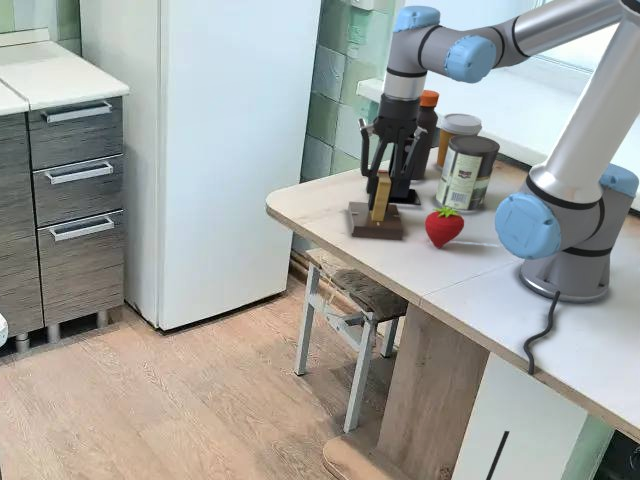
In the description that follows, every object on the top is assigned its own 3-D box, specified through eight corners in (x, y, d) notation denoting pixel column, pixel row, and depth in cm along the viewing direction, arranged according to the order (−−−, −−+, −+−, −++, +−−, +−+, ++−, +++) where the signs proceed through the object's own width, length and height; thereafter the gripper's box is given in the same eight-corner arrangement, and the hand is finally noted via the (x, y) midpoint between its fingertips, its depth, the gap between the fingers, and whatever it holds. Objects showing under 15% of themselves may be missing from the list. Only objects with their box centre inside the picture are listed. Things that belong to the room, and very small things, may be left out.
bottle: (405, 170, 194) (424, 86, 182) (428, 179, 190) (450, 94, 178) (387, 176, 191) (406, 92, 178) (411, 186, 186) (431, 100, 174)
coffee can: (473, 194, 183) (490, 134, 175) (488, 214, 175) (507, 152, 166) (428, 193, 183) (443, 133, 175) (441, 213, 175) (457, 151, 166)
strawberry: (460, 255, 160) (473, 209, 154) (421, 253, 160) (433, 207, 154) (454, 242, 164) (466, 196, 158) (416, 239, 165) (428, 194, 159)
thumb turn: (382, 221, 166) (391, 181, 160) (372, 220, 166) (380, 180, 161) (379, 209, 170) (388, 169, 165) (369, 208, 171) (377, 169, 165)
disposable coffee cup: (478, 170, 194) (492, 122, 187) (451, 178, 190) (465, 129, 183) (447, 157, 201) (459, 110, 193) (421, 165, 197) (432, 116, 189)
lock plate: (401, 240, 165) (404, 228, 163) (351, 237, 165) (353, 225, 164) (394, 215, 174) (396, 203, 172) (346, 211, 175) (349, 200, 173)
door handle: (357, 134, 170) (363, 124, 168) (355, 125, 174) (360, 115, 173) (411, 156, 171) (417, 145, 170) (407, 146, 175) (413, 136, 174)
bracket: (373, 205, 178) (386, 141, 169) (369, 191, 184) (382, 127, 175) (419, 209, 177) (435, 143, 168) (413, 193, 183) (429, 130, 174)
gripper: (439, 90, 155) (412, 203, 170) (359, 86, 157) (338, 198, 171) (446, 103, 149) (417, 218, 164) (362, 98, 151) (341, 213, 165)
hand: (377, 208), depth 167 cm, fingers closed on thumb turn, 2 cm apart
